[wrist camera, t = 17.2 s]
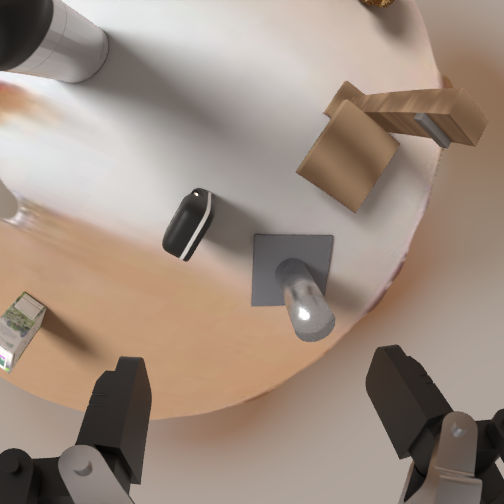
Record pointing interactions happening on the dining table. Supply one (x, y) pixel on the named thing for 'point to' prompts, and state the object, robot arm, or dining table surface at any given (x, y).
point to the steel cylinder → (304, 301)
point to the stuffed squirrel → (378, 2)
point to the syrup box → (19, 329)
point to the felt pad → (279, 249)
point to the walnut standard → (383, 135)
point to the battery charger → (189, 224)
